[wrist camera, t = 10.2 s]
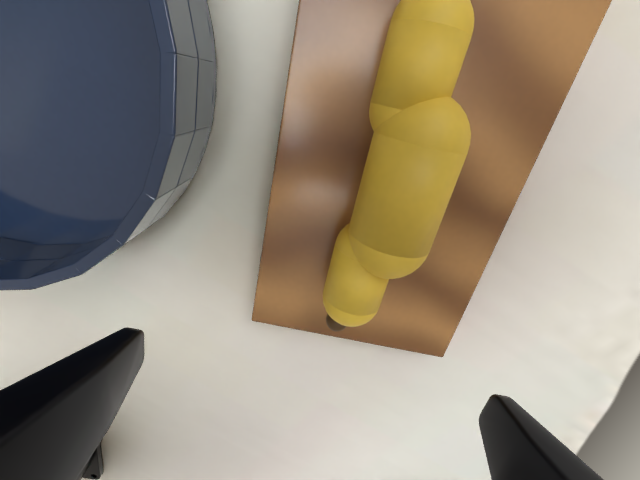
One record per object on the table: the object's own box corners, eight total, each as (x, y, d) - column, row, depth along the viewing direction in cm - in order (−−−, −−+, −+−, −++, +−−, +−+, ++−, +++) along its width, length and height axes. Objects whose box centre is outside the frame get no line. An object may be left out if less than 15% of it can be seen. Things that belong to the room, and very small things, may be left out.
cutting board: (437, 344, 22) (443, 358, 21) (255, 309, 21) (251, 321, 20) (608, -32, 13) (633, -43, 12) (318, -106, 13) (317, -124, 12)
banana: (385, 321, 20) (397, 371, 16) (316, 308, 19) (312, 355, 16) (505, -12, 13) (568, -50, 9) (401, -38, 13) (425, -86, 9)
